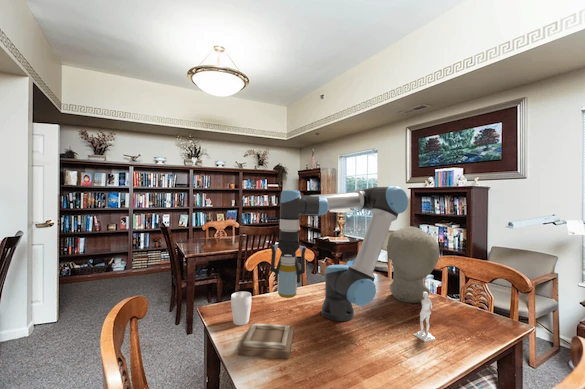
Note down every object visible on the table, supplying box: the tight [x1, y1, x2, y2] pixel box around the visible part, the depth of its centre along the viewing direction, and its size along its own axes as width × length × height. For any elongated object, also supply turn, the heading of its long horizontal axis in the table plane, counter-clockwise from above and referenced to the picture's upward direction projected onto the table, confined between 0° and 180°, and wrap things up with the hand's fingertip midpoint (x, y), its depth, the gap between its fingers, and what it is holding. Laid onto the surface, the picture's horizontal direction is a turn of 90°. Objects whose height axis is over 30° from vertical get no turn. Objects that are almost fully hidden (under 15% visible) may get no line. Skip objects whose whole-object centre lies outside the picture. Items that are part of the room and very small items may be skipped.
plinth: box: [237, 322, 295, 360], centre depth 105 cm, size 18×18×4 cm
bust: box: [386, 225, 440, 304], centre depth 146 cm, size 25×28×40 cm
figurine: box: [413, 292, 436, 343], centre depth 111 cm, size 8×7×18 cm
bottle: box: [277, 255, 297, 299], centre depth 107 cm, size 7×7×15 cm
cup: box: [230, 291, 252, 326], centre depth 123 cm, size 9×9×12 cm
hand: (287, 290), depth 107 cm, fingers closed on bottle, 6 cm apart
